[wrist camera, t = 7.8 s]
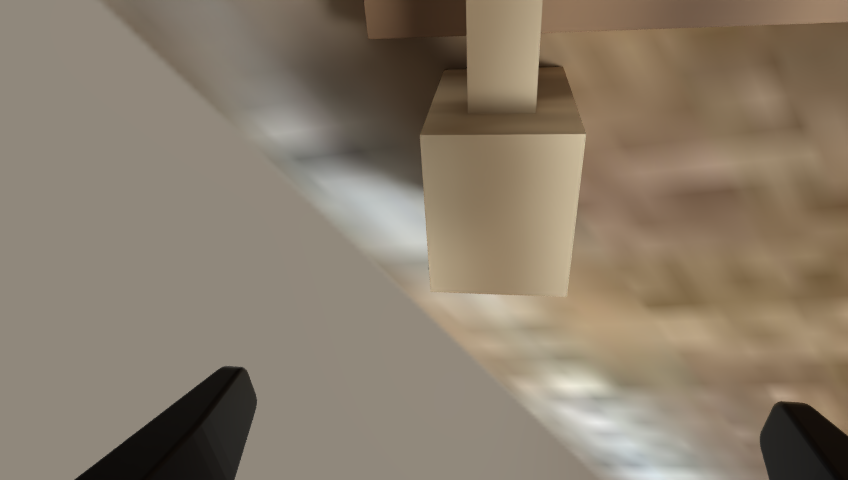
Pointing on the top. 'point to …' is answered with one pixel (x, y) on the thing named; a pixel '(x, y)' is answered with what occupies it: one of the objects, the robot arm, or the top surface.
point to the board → (601, 15)
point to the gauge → (502, 162)
